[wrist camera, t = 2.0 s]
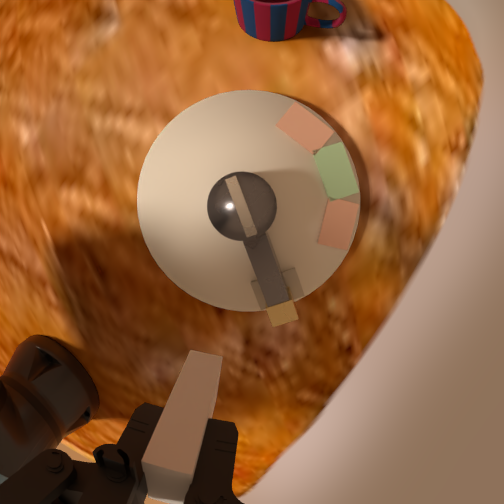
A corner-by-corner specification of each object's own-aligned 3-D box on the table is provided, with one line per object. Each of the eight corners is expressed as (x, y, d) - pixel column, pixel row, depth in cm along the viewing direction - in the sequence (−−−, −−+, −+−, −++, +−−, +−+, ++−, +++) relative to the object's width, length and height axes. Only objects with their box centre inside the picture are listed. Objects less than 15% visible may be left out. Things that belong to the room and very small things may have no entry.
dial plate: (190, 328, 30) (186, 335, 28) (117, 146, 26) (109, 144, 24) (378, 265, 27) (384, 270, 26) (310, 69, 23) (313, 62, 22)
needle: (207, 185, 25) (196, 186, 20) (263, 164, 24) (262, 161, 20) (257, 314, 27) (256, 336, 23) (309, 297, 26) (316, 317, 22)
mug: (256, -14, 21) (253, -52, 14) (344, 22, 22) (362, -13, 15) (225, 28, 22) (214, -8, 16) (319, 66, 23) (334, 35, 16)
